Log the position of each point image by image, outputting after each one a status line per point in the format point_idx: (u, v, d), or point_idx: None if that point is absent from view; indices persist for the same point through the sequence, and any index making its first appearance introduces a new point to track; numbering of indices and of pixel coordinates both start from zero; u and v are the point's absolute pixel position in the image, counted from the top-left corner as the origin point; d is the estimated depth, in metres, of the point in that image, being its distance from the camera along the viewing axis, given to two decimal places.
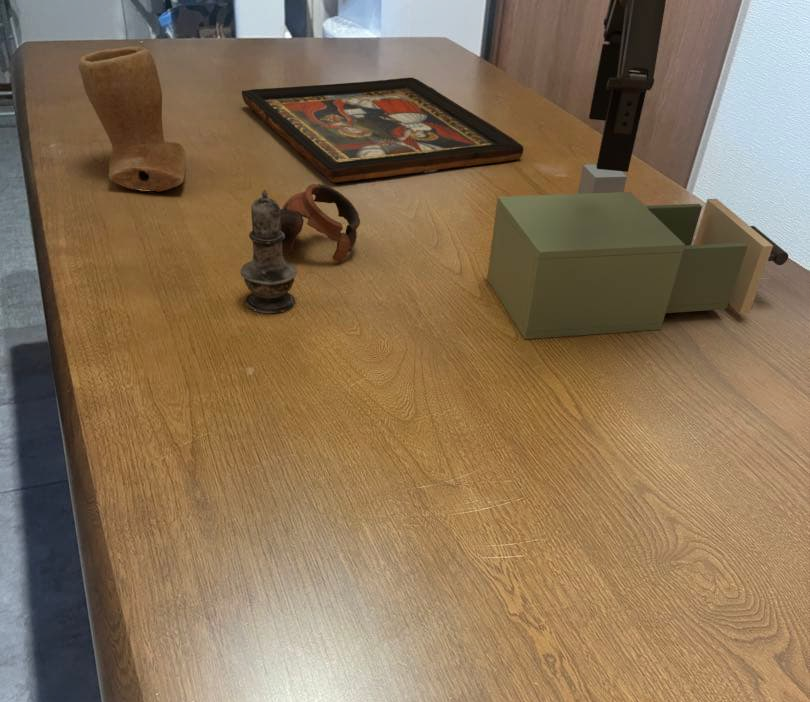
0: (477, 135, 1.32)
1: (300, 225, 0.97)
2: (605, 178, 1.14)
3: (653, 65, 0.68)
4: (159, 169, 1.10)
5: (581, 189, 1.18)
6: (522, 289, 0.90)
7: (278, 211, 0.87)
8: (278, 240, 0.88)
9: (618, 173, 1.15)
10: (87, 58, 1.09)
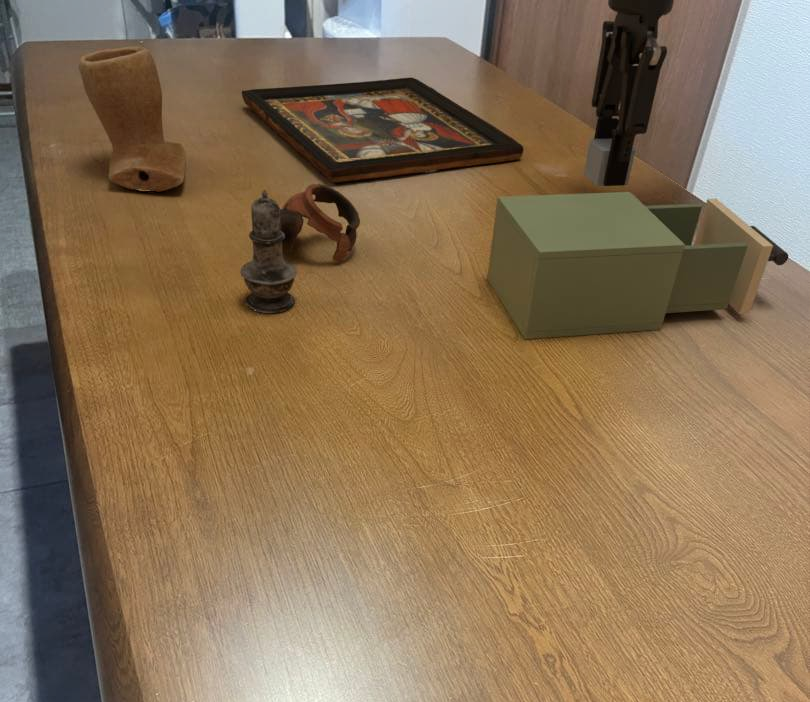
0: (477, 135, 1.32)
1: (300, 225, 0.97)
2: None
3: (647, 121, 1.06)
4: (159, 169, 1.10)
5: (588, 164, 1.16)
6: (522, 289, 0.90)
7: (278, 211, 0.87)
8: (278, 240, 0.88)
9: None
10: (87, 58, 1.09)
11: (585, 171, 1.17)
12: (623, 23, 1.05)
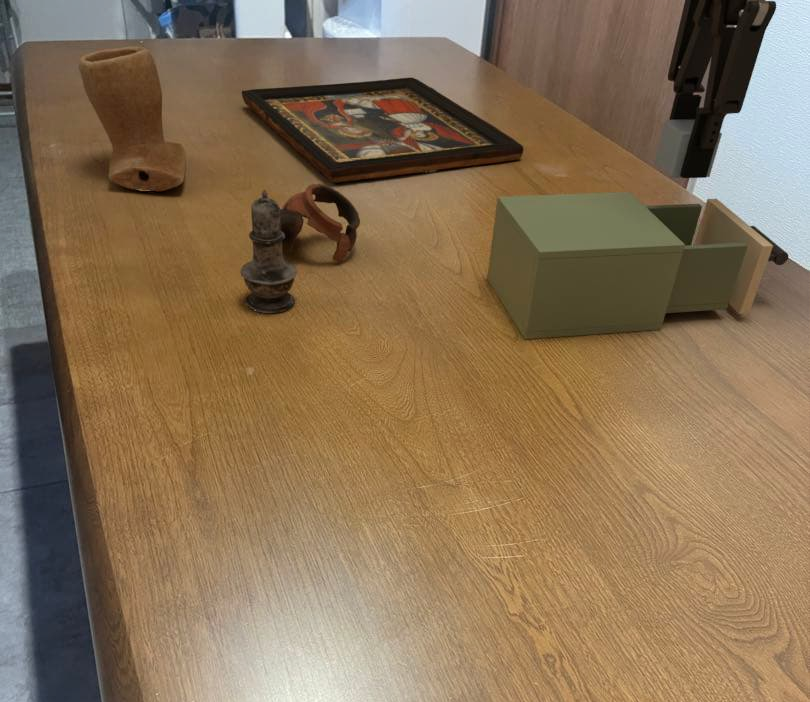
0: (477, 135, 1.32)
1: (300, 225, 0.97)
2: None
3: (743, 97, 0.85)
4: (159, 169, 1.10)
5: (661, 151, 0.94)
6: (522, 289, 0.90)
7: (278, 211, 0.87)
8: (278, 240, 0.88)
9: None
10: (87, 58, 1.09)
11: (657, 160, 0.96)
12: None
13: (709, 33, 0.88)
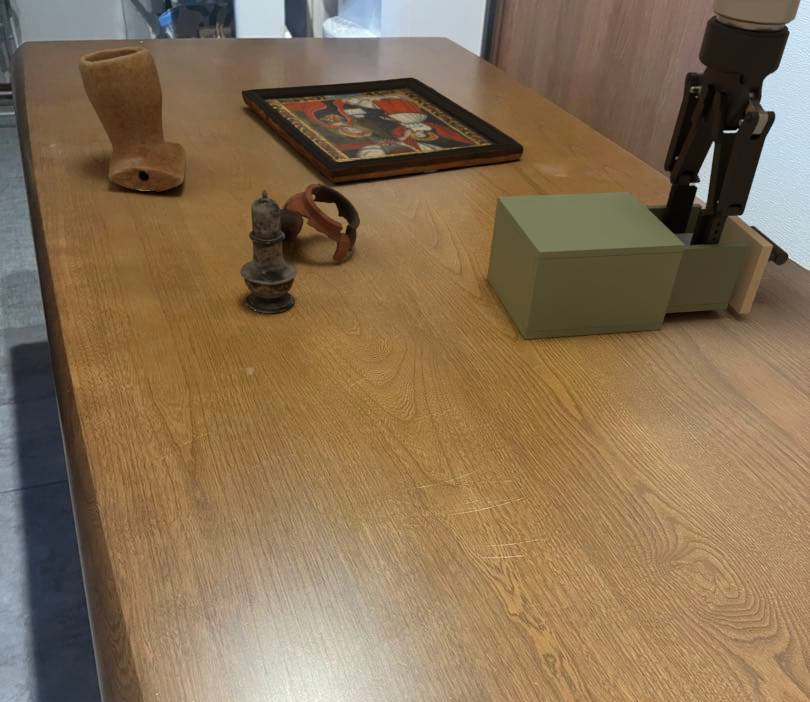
0: (477, 135, 1.32)
1: (300, 225, 0.97)
2: None
3: (745, 200, 0.86)
4: (159, 169, 1.10)
5: None
6: (522, 289, 0.90)
7: (278, 211, 0.87)
8: (278, 240, 0.88)
9: None
10: (87, 58, 1.09)
11: None
12: (715, 81, 0.85)
13: (706, 133, 0.89)
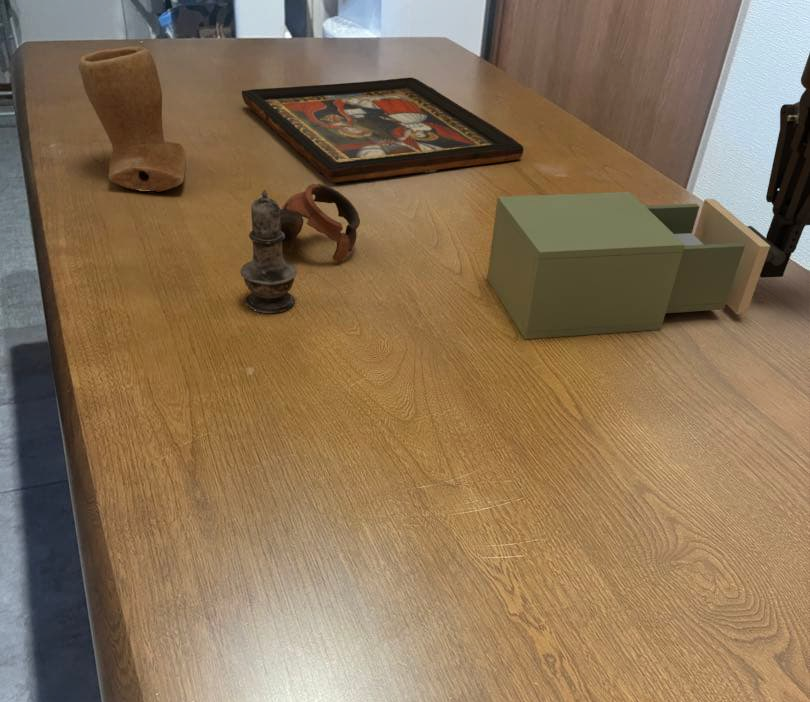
0: (477, 135, 1.32)
1: (300, 225, 0.97)
2: None
3: None
4: (159, 169, 1.10)
5: None
6: (522, 289, 0.90)
7: (278, 211, 0.87)
8: (278, 240, 0.88)
9: None
10: (87, 58, 1.09)
11: None
12: None
13: None
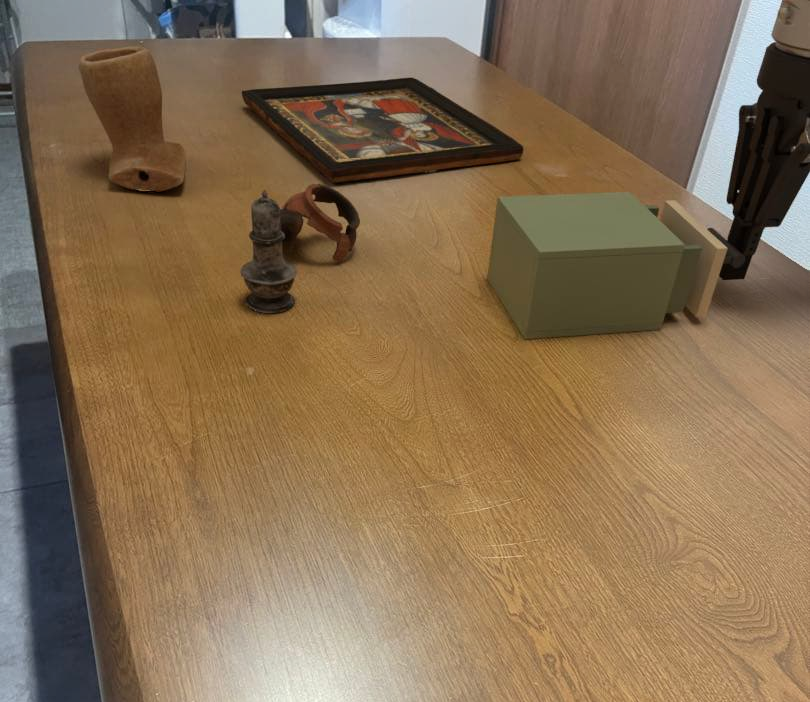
0: (477, 135, 1.32)
1: (300, 225, 0.97)
2: None
3: (784, 215, 0.91)
4: (159, 169, 1.10)
5: None
6: (522, 289, 0.90)
7: (278, 211, 0.87)
8: (278, 240, 0.88)
9: None
10: (87, 58, 1.09)
11: None
12: (771, 105, 0.88)
13: None
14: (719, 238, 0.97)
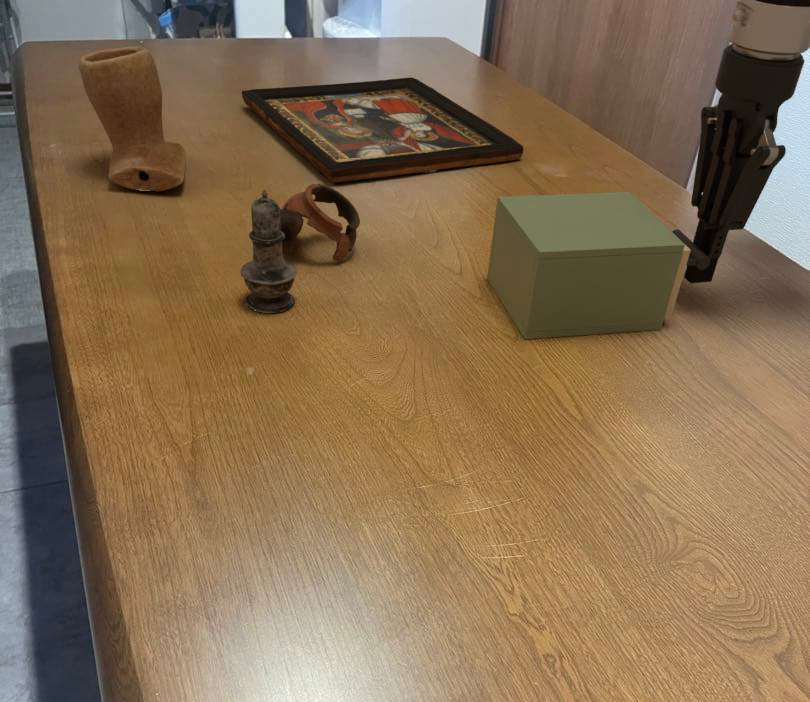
0: (477, 135, 1.32)
1: (300, 225, 0.97)
2: None
3: (747, 218, 0.90)
4: (159, 169, 1.10)
5: None
6: (522, 289, 0.90)
7: (278, 211, 0.87)
8: (278, 240, 0.88)
9: None
10: (87, 58, 1.09)
11: None
12: (731, 107, 0.87)
13: None
14: (685, 240, 0.96)
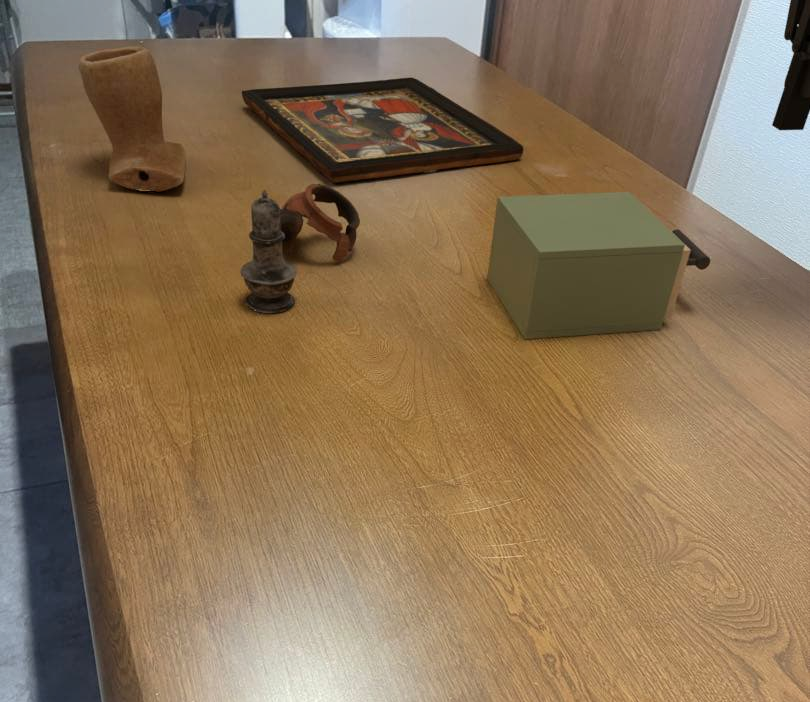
0: (477, 135, 1.32)
1: (300, 225, 0.97)
2: None
3: None
4: (159, 169, 1.10)
5: None
6: (522, 289, 0.90)
7: (278, 211, 0.87)
8: (278, 240, 0.88)
9: None
10: (87, 58, 1.09)
11: None
12: None
13: None
14: (685, 240, 0.96)
